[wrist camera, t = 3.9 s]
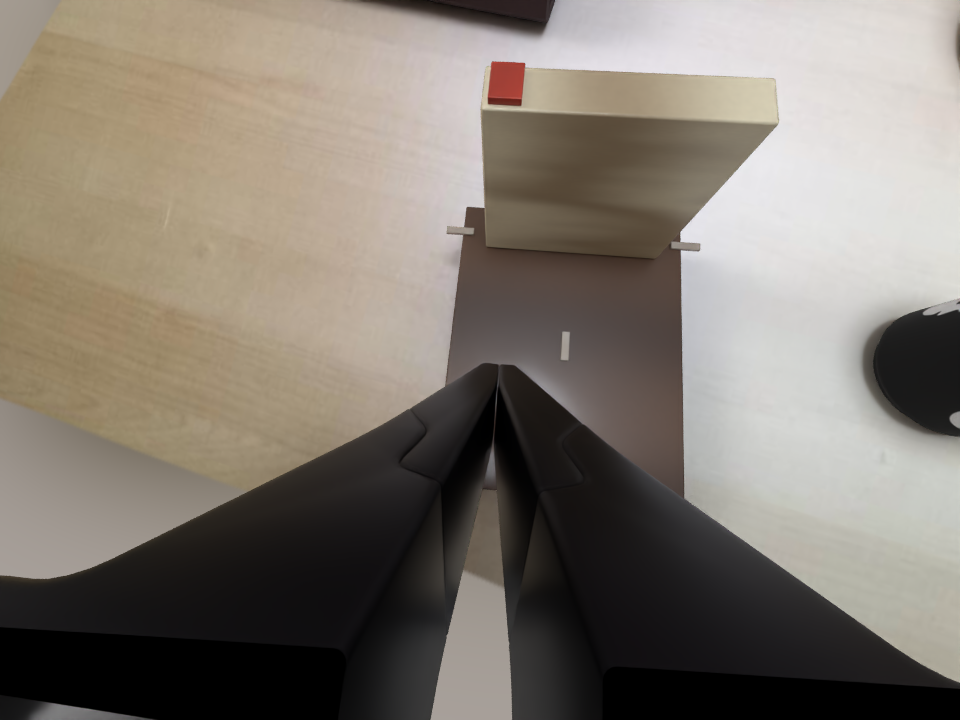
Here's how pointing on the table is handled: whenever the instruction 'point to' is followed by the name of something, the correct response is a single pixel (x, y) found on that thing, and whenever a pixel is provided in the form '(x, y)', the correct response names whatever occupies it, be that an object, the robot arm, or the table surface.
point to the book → (508, 7)
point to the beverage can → (923, 366)
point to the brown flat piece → (581, 338)
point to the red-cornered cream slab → (611, 154)
